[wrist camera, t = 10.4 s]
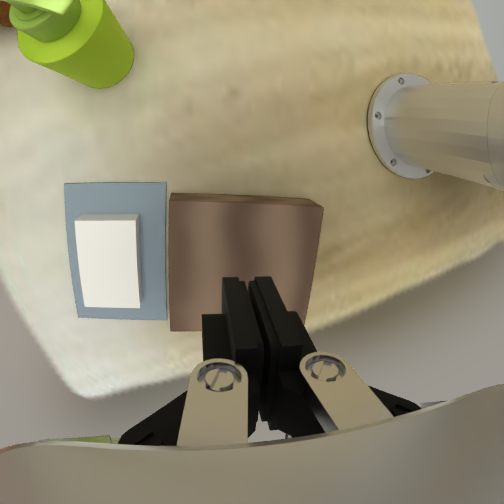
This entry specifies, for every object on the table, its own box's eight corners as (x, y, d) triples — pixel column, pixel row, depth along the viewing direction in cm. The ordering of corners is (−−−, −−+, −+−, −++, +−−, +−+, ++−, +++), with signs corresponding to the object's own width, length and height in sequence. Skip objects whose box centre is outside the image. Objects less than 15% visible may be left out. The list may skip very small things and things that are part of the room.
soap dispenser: (123, 101, 26) (32, 57, 8) (66, 77, 24) (-62, 30, 6) (154, 48, 25) (117, -63, 7) (96, 26, 23) (8, -75, 4)
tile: (74, 220, 27) (82, 214, 29) (84, 306, 30) (90, 295, 32) (135, 220, 28) (139, 213, 30) (140, 308, 31) (142, 296, 33)
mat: (166, 182, 30) (166, 183, 30) (167, 318, 35) (166, 320, 35) (65, 183, 28) (64, 183, 28) (78, 316, 33) (78, 317, 33)
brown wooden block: (308, 199, 33) (323, 207, 30) (292, 308, 38) (303, 327, 34) (171, 192, 30) (169, 201, 27) (171, 311, 35) (170, 331, 31)
